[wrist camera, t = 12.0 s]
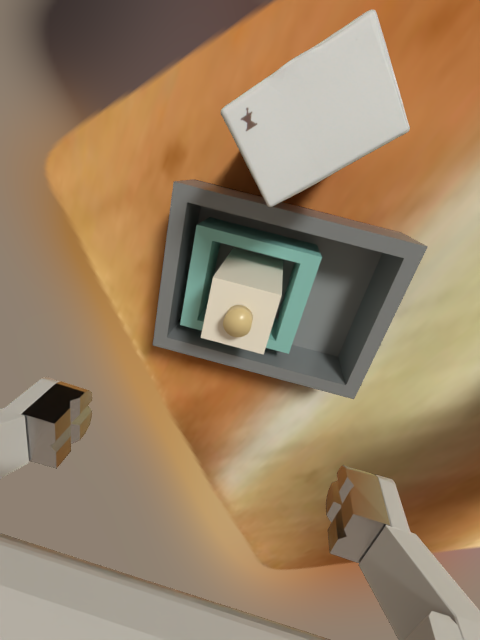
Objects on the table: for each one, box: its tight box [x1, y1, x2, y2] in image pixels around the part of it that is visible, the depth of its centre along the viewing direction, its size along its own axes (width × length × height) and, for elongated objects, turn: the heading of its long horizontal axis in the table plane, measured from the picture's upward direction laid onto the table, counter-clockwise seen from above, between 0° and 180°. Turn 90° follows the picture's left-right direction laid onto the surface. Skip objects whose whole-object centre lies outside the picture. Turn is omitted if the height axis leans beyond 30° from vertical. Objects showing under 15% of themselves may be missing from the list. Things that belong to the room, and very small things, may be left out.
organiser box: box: [153, 180, 427, 399], centre depth 25 cm, size 16×12×5 cm
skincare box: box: [221, 10, 410, 207], centre depth 18 cm, size 6×4×12 cm
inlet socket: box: [180, 217, 322, 354], centre depth 25 cm, size 8×8×4 cm
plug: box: [201, 247, 283, 355], centre depth 22 cm, size 4×4×9 cm
